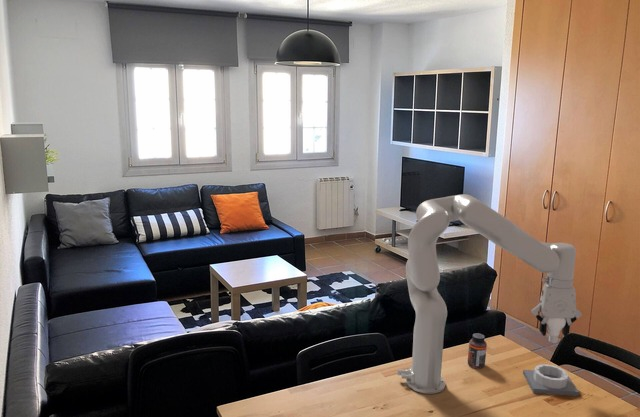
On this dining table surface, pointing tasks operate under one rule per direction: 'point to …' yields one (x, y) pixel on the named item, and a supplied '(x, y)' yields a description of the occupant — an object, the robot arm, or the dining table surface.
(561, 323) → the lightbulb
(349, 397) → the dining table surface
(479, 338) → the supplement bottle
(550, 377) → the socket holder
